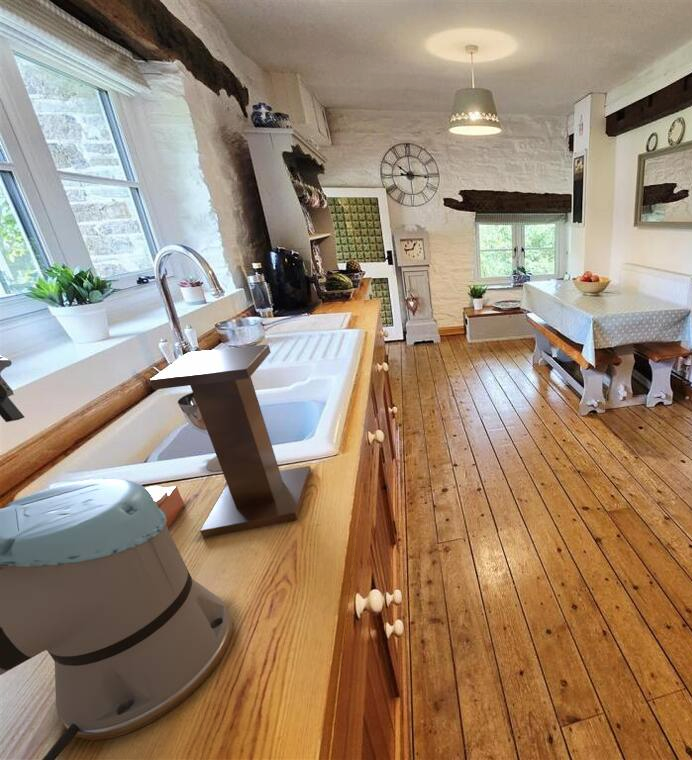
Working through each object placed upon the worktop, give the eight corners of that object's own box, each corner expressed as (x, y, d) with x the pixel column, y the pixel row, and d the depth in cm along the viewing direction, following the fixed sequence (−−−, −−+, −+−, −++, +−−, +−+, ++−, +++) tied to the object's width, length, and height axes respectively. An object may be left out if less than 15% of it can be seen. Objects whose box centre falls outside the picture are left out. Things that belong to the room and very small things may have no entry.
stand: (202, 537, 65) (136, 383, 55) (232, 485, 78) (183, 351, 67) (297, 519, 68) (251, 370, 58) (311, 471, 81) (276, 341, 70)
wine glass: (256, 450, 89) (235, 387, 83) (230, 472, 82) (205, 405, 76) (222, 449, 90) (199, 387, 84) (193, 471, 82) (166, 405, 76)
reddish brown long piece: (35, 556, 63) (20, 532, 61) (67, 524, 69) (54, 502, 67) (165, 531, 67) (154, 508, 65) (184, 504, 73) (175, 482, 71)
